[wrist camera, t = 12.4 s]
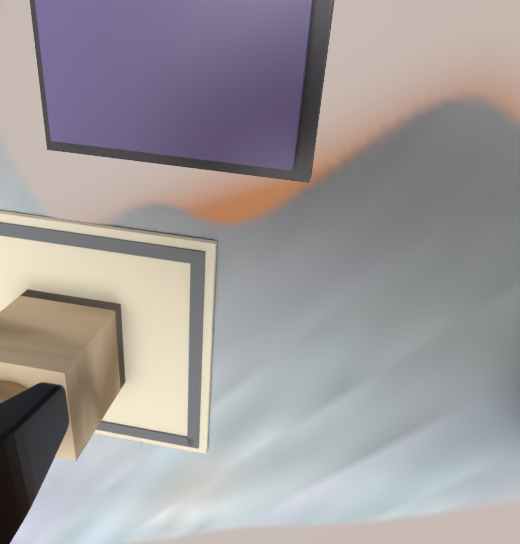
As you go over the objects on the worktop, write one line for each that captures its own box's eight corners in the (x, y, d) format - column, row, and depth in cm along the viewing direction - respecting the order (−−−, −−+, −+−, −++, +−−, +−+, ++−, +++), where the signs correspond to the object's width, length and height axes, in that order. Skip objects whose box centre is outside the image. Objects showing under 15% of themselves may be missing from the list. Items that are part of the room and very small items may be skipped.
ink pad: (342, -64, 15) (341, -73, 14) (311, 175, 19) (308, 188, 17) (36, -86, 16) (5, -97, 15) (60, 144, 20) (37, 153, 18)
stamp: (125, 381, 24) (61, 485, 19) (39, 367, 25) (-48, 464, 19) (120, 303, 22) (46, 395, 17) (27, 289, 23) (-74, 373, 17)
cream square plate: (216, 241, 21) (214, 245, 20) (207, 449, 26) (205, 455, 26) (-71, 200, 22) (-78, 203, 22) (-22, 406, 27) (-27, 412, 27)
